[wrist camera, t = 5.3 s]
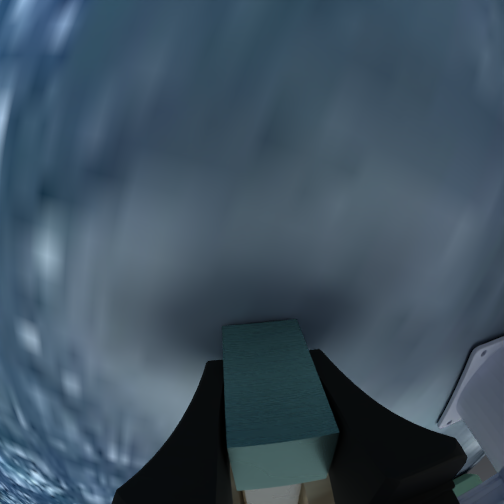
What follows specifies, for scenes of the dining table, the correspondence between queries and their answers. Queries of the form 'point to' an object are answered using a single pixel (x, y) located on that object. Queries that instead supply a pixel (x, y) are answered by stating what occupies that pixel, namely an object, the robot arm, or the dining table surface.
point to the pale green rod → (465, 483)
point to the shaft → (274, 412)
